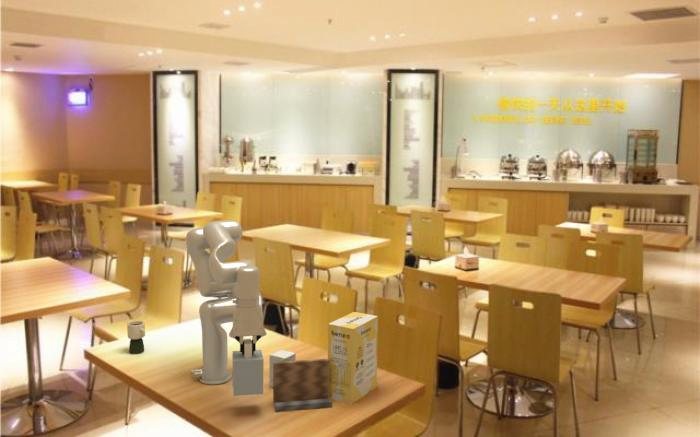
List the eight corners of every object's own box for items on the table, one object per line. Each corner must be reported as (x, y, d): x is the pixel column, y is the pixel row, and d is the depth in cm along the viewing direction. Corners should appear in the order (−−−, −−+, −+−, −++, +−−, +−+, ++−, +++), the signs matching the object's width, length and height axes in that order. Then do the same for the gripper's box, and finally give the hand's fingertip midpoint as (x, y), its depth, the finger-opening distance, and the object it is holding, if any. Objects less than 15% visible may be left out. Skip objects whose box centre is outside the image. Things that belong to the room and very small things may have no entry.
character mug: (151, 352, 279) (151, 323, 277) (138, 356, 273) (137, 327, 271) (135, 347, 284) (134, 318, 282) (121, 351, 278) (120, 322, 276)
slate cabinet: (233, 395, 217) (233, 346, 215) (232, 384, 226) (232, 337, 223) (263, 393, 220) (263, 345, 217) (261, 383, 228) (261, 336, 225)
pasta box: (352, 381, 251) (354, 311, 247) (376, 386, 245) (378, 316, 241) (327, 397, 235) (328, 323, 231) (352, 404, 230) (353, 328, 226)
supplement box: (284, 390, 241) (284, 358, 239) (268, 386, 244) (268, 354, 243) (296, 384, 247) (296, 352, 245) (280, 379, 251) (280, 348, 249)
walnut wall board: (275, 411, 223) (275, 370, 221) (273, 402, 230) (273, 362, 228) (332, 407, 227) (332, 366, 225) (327, 397, 235) (328, 358, 233)
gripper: (224, 306, 212) (224, 358, 215) (272, 304, 216) (272, 356, 219) (223, 299, 220) (223, 350, 223) (270, 298, 223) (270, 348, 226)
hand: (247, 353), depth 221 cm, fingers closed on slate cabinet, 2 cm apart
